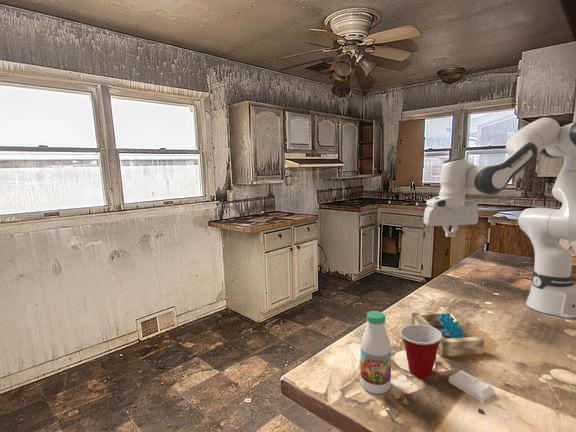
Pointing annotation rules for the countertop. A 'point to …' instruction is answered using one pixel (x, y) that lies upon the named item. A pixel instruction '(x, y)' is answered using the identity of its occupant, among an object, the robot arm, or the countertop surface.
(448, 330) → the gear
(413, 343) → the plastic cup
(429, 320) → the carrier pocket
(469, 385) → the soap bar
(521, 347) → the countertop surface
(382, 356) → the milk bottle
